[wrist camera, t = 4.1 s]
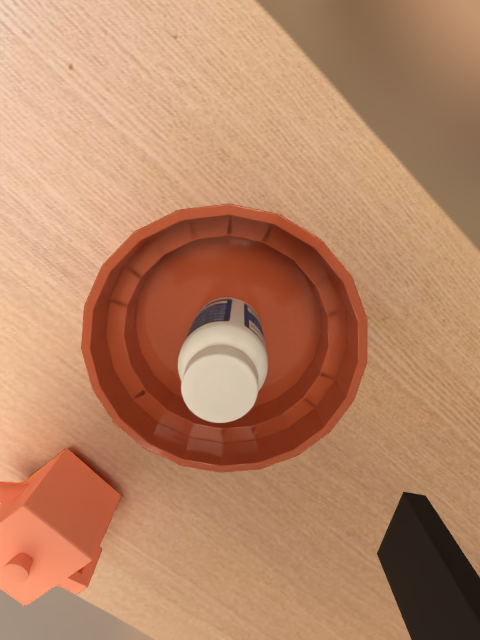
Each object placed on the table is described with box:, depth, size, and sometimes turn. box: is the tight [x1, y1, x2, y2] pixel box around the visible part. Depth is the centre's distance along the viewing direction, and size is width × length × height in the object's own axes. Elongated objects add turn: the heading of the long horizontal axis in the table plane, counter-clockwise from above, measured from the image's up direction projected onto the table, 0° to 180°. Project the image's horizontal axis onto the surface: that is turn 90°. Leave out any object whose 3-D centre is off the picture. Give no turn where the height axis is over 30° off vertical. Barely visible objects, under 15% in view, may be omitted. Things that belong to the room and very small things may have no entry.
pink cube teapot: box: [0, 448, 121, 606], centre depth 28 cm, size 8×12×8 cm, turn 40°
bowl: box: [81, 204, 367, 472], centre depth 24 cm, size 18×18×6 cm
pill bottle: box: [178, 297, 268, 423], centre depth 22 cm, size 5×5×10 cm
